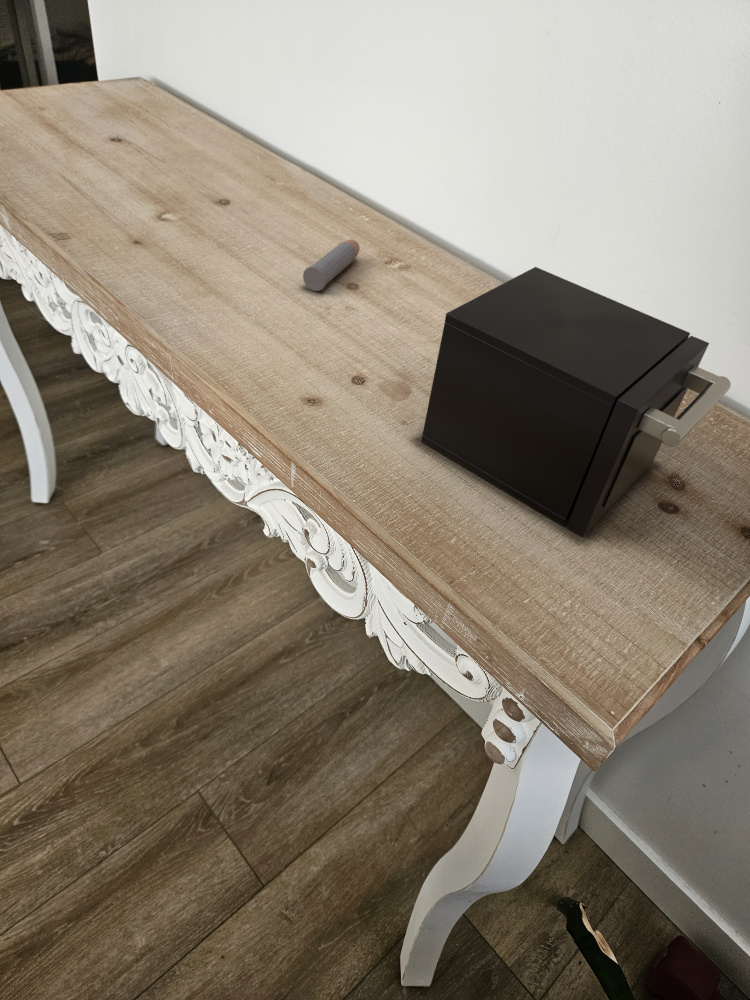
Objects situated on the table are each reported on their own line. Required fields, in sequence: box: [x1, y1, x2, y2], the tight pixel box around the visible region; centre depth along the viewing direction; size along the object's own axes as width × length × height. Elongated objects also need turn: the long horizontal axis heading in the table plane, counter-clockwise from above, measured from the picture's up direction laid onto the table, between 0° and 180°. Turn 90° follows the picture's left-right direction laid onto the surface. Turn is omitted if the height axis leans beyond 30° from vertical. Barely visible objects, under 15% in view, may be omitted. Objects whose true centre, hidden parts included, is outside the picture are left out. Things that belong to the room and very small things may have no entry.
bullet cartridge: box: [302, 239, 360, 292], centre depth 86 cm, size 11×3×3 cm, turn 157°
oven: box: [420, 266, 691, 527], centre depth 61 cm, size 15×14×13 cm
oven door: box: [566, 335, 732, 537], centre depth 57 cm, size 5×14×13 cm, turn 140°
